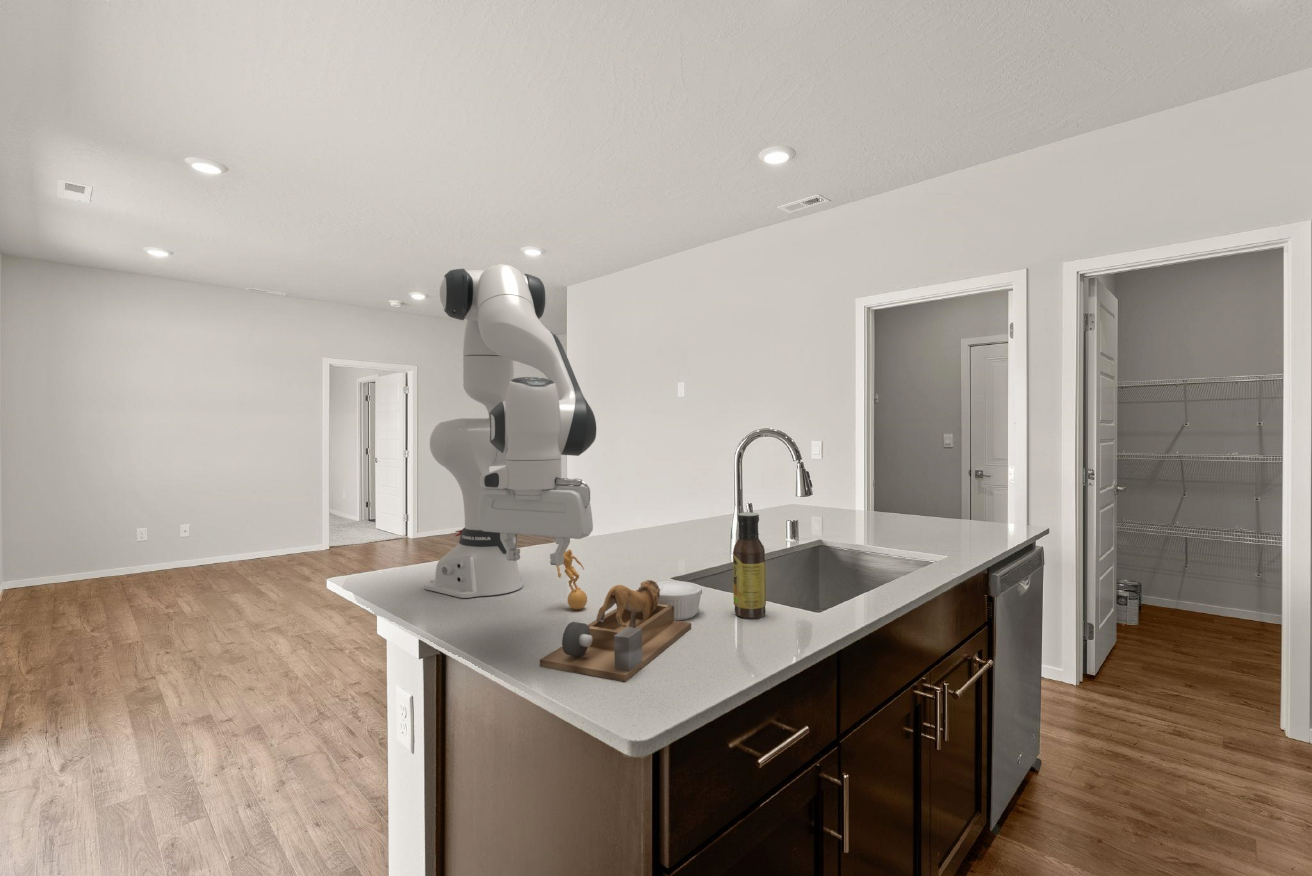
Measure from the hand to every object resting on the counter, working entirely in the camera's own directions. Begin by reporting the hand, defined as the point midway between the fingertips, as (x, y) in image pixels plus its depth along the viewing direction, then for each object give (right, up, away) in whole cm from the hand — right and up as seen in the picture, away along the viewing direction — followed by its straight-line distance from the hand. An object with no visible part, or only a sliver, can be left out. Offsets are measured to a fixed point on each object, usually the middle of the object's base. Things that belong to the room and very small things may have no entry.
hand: (534, 562), depth 101 cm
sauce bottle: (+38, -15, +21) cm, 46 cm away
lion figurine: (+14, -13, +7) cm, 20 cm away
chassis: (+14, -15, +4) cm, 21 cm away
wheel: (+8, -14, -3) cm, 16 cm away
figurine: (+3, -15, +26) cm, 30 cm away
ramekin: (+23, -15, +22) cm, 35 cm away
